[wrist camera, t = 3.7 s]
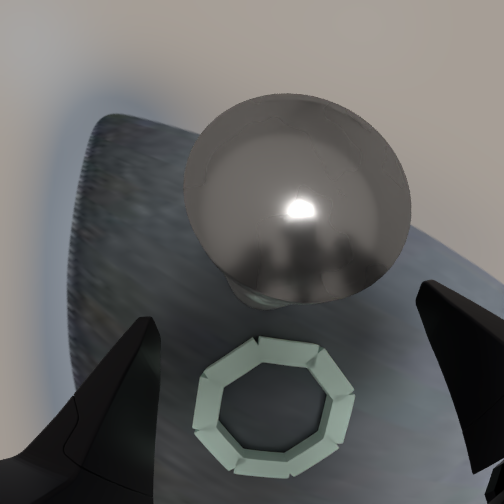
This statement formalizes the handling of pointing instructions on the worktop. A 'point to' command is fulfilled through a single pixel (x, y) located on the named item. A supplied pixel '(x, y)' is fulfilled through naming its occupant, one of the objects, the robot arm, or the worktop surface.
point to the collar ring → (282, 354)
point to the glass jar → (296, 200)
